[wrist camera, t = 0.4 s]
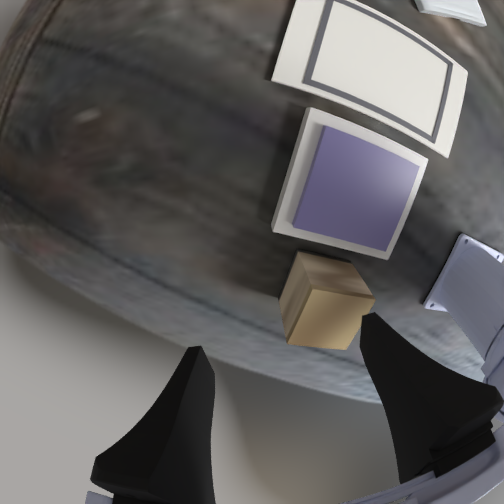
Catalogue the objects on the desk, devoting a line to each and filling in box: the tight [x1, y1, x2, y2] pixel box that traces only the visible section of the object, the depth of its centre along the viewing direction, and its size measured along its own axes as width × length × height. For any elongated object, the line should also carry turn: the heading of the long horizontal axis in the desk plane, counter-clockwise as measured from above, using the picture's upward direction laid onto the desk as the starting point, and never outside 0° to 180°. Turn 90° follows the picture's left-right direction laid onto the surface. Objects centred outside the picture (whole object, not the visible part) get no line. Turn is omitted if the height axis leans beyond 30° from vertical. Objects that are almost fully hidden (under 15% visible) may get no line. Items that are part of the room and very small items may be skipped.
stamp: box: [278, 249, 376, 350], centre depth 19 cm, size 4×4×5 cm
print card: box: [271, 0, 468, 158], centre depth 13 cm, size 14×8×1 cm, turn 75°
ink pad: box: [271, 107, 428, 260], centre depth 17 cm, size 9×8×2 cm
